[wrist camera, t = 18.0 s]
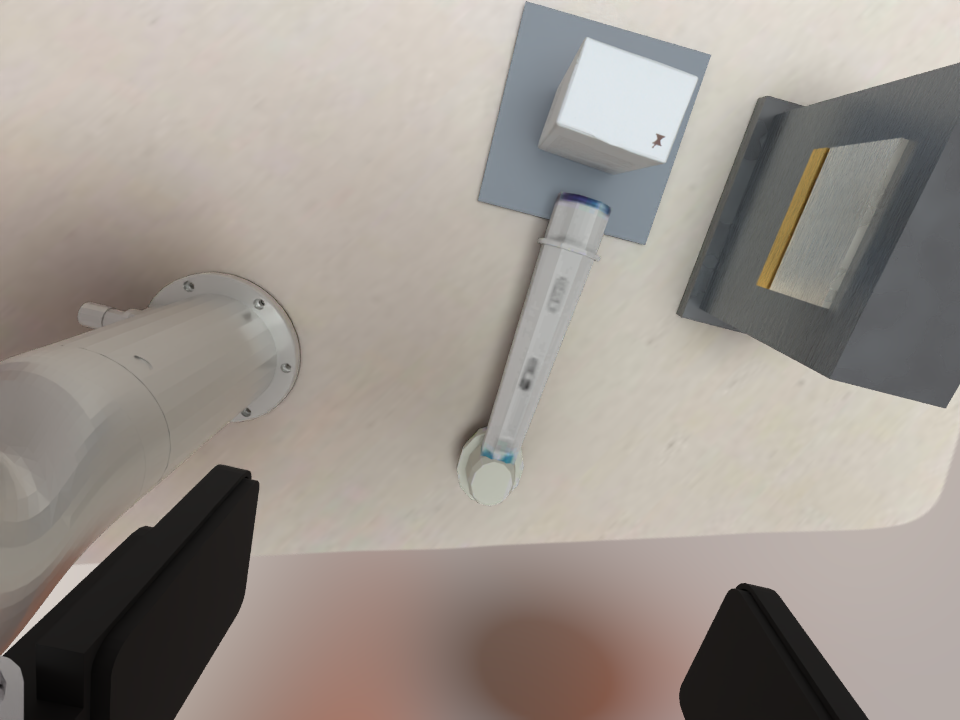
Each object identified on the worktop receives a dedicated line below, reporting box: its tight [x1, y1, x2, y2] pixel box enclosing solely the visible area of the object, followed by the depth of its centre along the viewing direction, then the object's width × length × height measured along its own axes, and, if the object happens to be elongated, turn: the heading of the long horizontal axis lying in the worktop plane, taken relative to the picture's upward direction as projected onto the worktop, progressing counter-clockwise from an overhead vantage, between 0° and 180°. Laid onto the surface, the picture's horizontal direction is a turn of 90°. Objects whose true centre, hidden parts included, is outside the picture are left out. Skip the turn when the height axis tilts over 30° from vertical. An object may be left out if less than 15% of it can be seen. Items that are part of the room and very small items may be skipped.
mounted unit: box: [677, 63, 960, 408], centre depth 30 cm, size 8×16×17 cm, turn 166°
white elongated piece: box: [457, 192, 612, 506], centre depth 39 cm, size 5×7×25 cm
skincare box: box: [538, 37, 698, 175], centre depth 30 cm, size 6×4×12 cm
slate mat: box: [478, 1, 711, 245], centre depth 37 cm, size 13×13×1 cm
